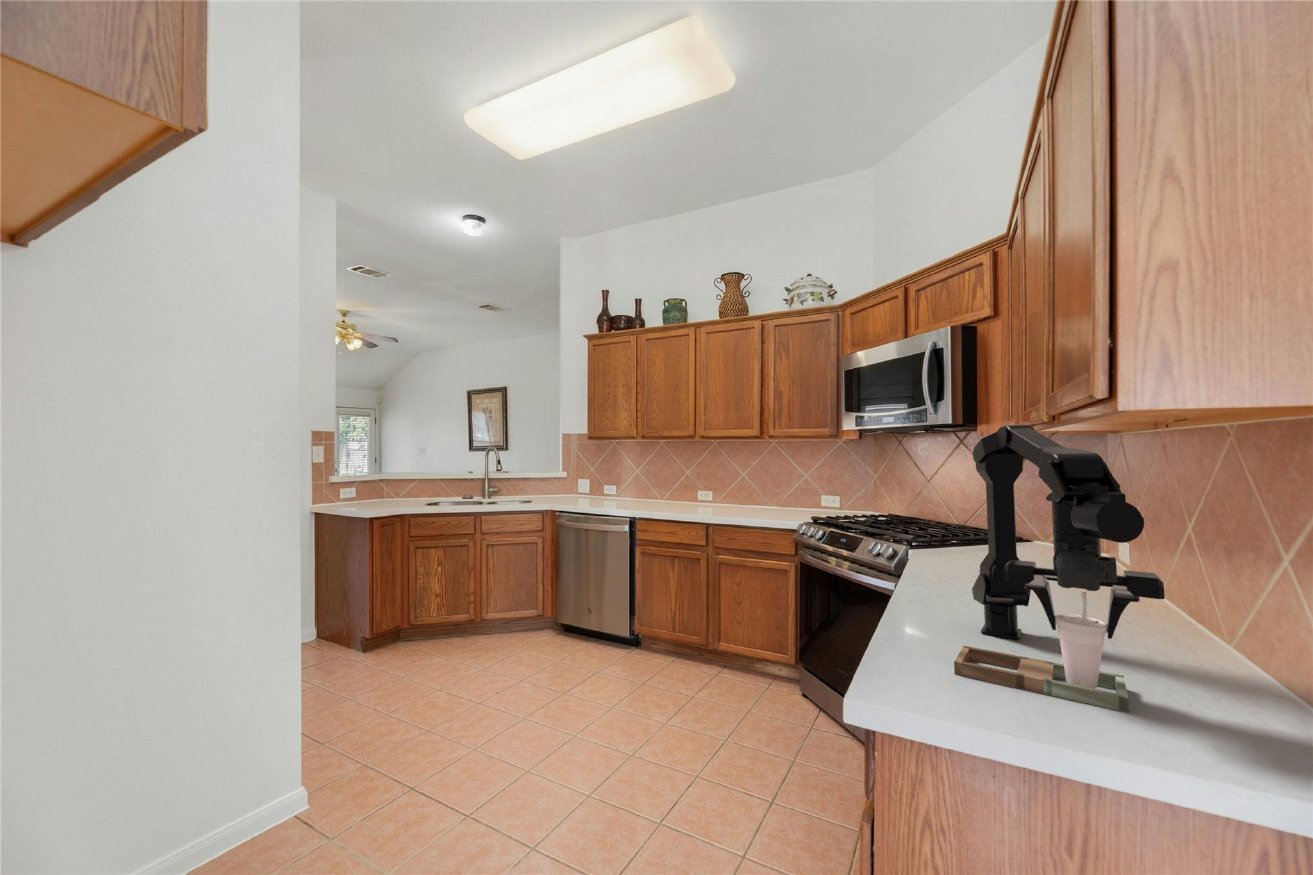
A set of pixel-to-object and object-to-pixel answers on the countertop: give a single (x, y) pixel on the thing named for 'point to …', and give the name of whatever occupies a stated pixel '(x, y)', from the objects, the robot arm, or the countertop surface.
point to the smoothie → (1081, 646)
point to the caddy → (1040, 677)
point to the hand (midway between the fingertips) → (1081, 633)
